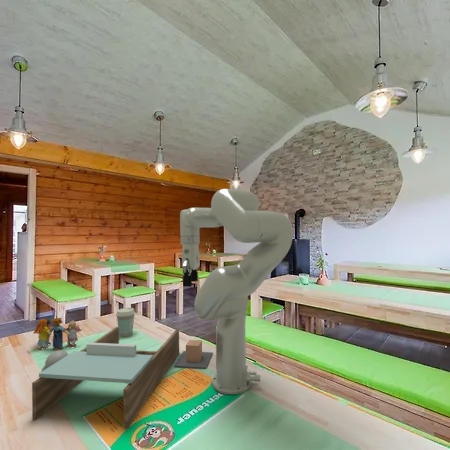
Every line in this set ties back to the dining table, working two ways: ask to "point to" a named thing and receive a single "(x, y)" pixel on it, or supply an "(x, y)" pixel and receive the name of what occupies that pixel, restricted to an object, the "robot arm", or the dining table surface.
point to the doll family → (56, 333)
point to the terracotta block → (193, 350)
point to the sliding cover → (100, 364)
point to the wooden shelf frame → (133, 393)
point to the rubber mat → (197, 365)
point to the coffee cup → (125, 321)
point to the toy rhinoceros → (54, 358)
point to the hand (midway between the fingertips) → (190, 283)
